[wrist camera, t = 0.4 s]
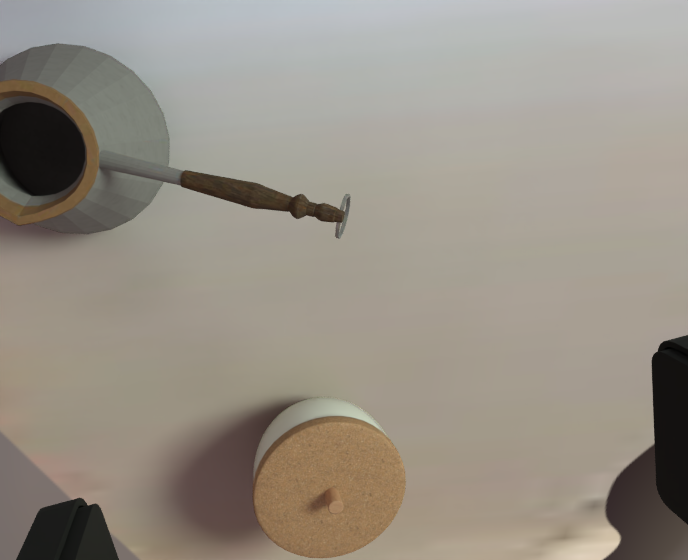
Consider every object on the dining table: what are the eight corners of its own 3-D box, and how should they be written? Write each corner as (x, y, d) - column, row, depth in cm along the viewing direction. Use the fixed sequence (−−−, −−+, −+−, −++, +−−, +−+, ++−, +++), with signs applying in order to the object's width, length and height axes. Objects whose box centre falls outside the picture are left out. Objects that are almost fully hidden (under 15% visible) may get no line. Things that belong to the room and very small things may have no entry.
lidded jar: (356, 504, 52) (384, 585, 43) (232, 483, 49) (234, 565, 40) (396, 390, 50) (434, 450, 41) (269, 362, 47) (280, 420, 38)
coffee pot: (-20, 209, 40) (-150, 261, 26) (-4, 27, 38) (-138, -25, 24) (296, 263, 45) (331, 331, 31) (328, 106, 43) (382, 102, 29)
